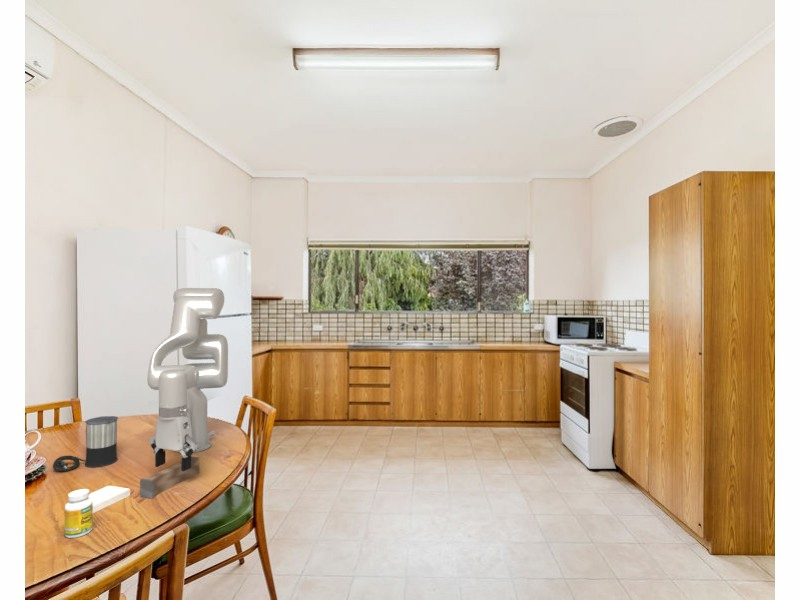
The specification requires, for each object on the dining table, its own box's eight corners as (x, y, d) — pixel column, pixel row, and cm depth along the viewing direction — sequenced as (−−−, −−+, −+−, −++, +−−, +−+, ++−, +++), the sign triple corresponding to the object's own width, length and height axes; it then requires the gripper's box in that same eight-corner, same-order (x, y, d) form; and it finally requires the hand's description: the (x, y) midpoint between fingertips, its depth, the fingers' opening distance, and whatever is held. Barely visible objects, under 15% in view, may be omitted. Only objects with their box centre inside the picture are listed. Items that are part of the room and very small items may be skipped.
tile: (108, 485, 123) (65, 504, 112) (130, 488, 121) (88, 508, 109) (108, 492, 123) (65, 512, 112) (130, 496, 121) (88, 517, 109)
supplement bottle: (75, 527, 104) (75, 487, 104) (97, 526, 104) (98, 487, 104) (58, 539, 98) (58, 497, 98) (82, 538, 99) (82, 497, 99)
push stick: (191, 471, 137) (191, 456, 137) (201, 473, 136) (201, 457, 136) (140, 497, 119) (140, 479, 119) (151, 499, 118) (151, 481, 118)
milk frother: (124, 459, 148) (124, 416, 148) (79, 477, 133) (79, 429, 133) (93, 455, 152) (93, 413, 152) (45, 472, 137) (46, 426, 137)
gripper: (205, 410, 129) (205, 466, 130) (160, 405, 134) (160, 459, 135) (187, 417, 122) (187, 476, 123) (139, 412, 127) (140, 468, 127)
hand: (173, 467), depth 129 cm, fingers open, 9 cm apart
